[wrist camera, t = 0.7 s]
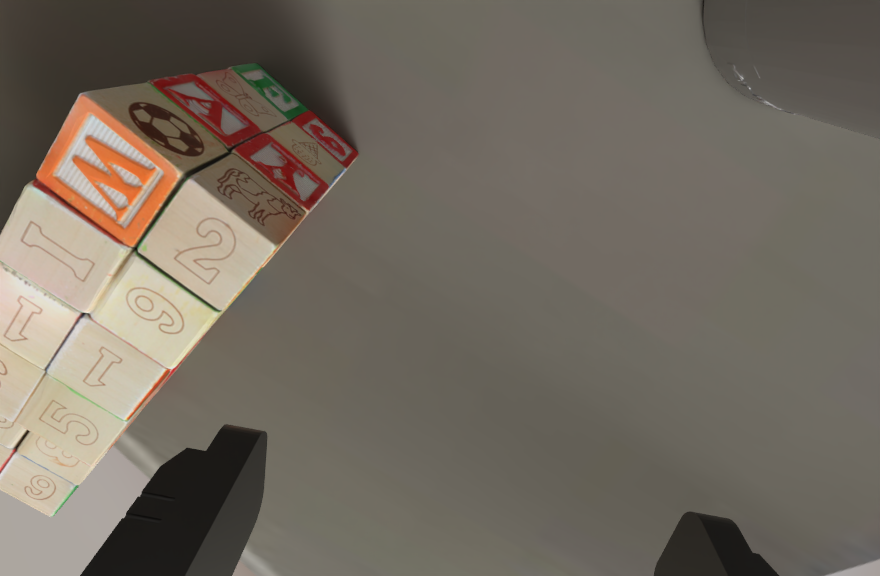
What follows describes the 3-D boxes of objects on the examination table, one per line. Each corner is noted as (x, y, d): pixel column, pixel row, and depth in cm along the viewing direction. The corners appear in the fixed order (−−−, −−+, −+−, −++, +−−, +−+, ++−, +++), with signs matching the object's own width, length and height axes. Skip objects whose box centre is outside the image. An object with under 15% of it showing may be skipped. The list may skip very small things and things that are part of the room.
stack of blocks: (153, 397, 34) (-1, 580, 23) (62, 338, 32) (-152, 505, 21) (362, 151, 26) (279, 250, 15) (256, 56, 24) (74, 88, 13)
